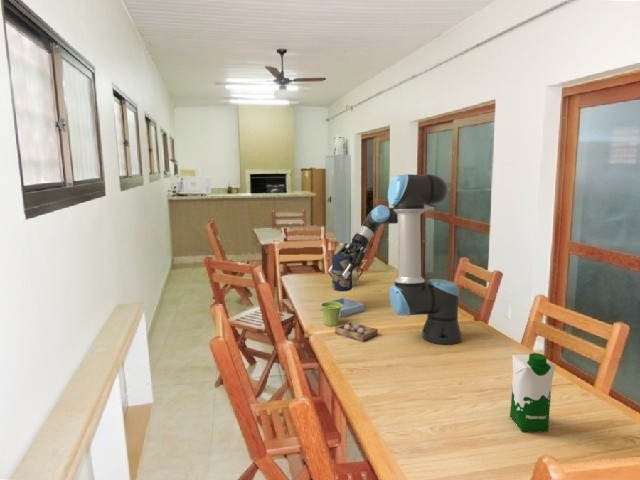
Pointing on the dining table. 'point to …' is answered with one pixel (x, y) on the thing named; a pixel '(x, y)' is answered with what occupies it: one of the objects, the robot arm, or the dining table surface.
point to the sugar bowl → (354, 275)
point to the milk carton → (531, 391)
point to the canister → (341, 272)
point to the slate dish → (348, 307)
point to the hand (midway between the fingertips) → (337, 274)
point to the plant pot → (331, 312)
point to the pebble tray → (356, 331)
